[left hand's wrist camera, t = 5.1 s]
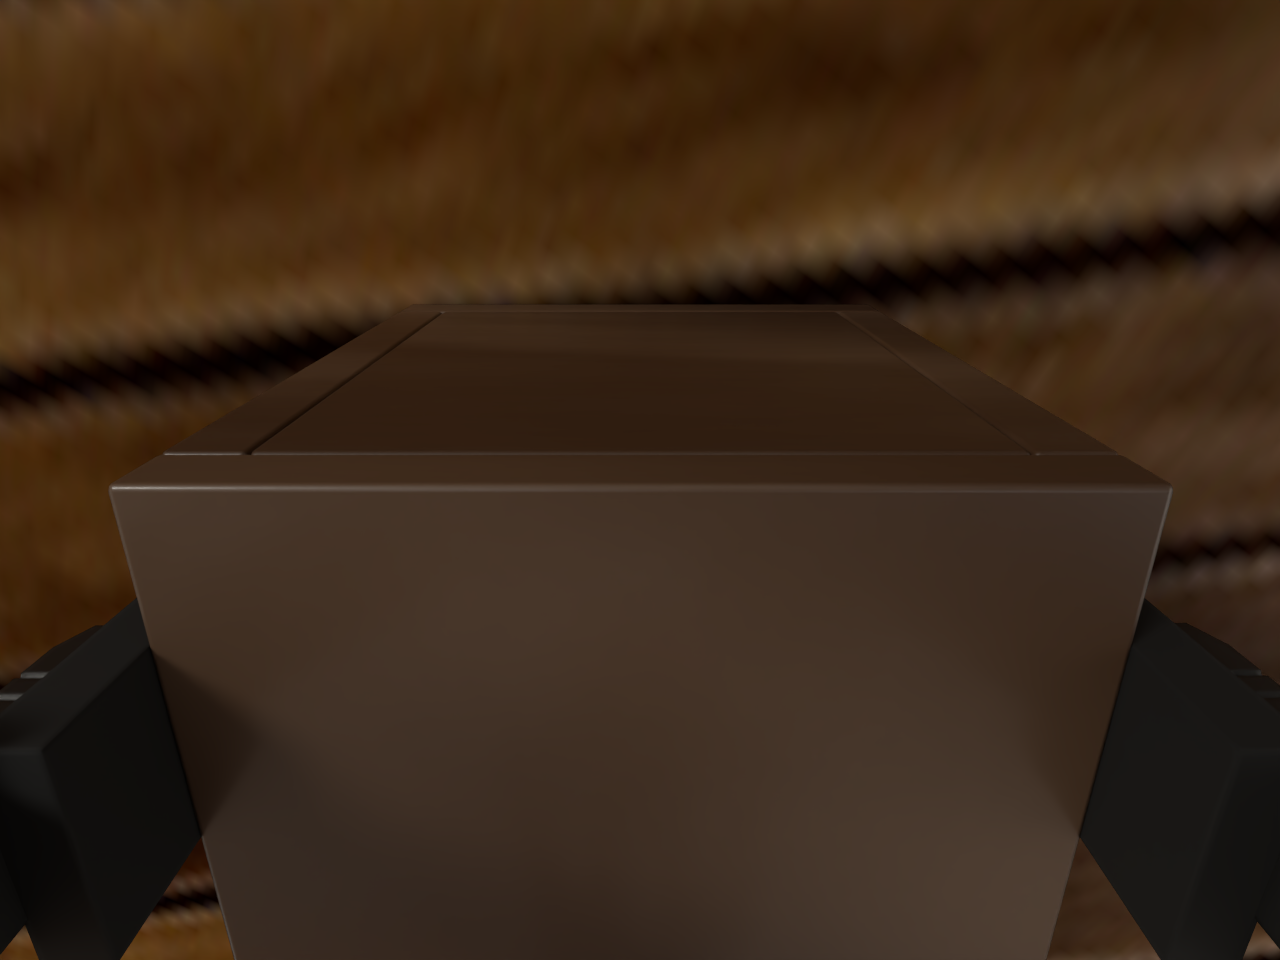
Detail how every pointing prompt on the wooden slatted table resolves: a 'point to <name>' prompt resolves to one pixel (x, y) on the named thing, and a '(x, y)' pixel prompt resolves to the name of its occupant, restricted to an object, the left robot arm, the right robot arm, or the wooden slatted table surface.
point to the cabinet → (640, 640)
